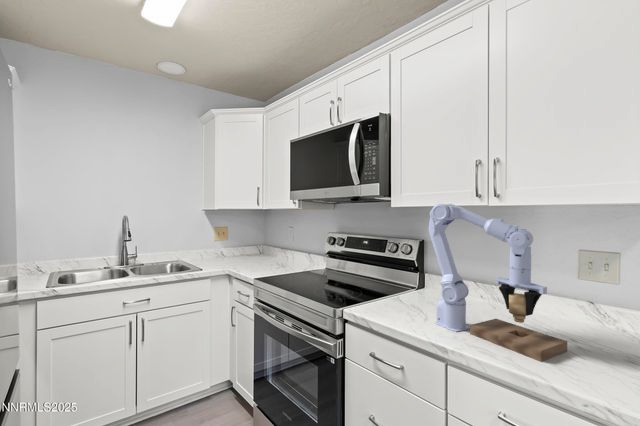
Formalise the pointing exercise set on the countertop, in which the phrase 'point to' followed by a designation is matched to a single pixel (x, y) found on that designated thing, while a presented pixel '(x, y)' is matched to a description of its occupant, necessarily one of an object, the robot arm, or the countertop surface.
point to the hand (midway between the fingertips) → (519, 311)
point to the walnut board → (519, 339)
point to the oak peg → (517, 307)
